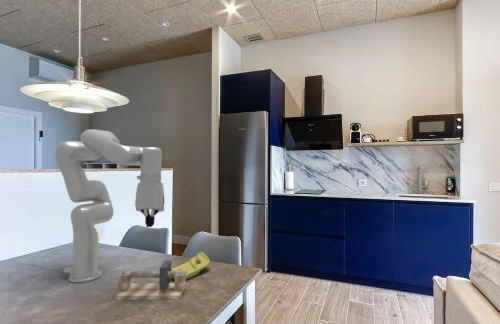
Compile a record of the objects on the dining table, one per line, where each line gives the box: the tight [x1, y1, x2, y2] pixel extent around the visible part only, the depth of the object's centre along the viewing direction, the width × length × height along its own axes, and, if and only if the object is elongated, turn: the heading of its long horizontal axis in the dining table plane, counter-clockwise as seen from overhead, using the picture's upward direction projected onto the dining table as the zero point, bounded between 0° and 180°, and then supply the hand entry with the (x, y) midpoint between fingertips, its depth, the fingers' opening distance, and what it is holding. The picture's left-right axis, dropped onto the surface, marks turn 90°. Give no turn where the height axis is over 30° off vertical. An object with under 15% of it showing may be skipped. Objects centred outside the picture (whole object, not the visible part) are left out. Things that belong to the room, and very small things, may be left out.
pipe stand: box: [115, 270, 186, 301], centre depth 111 cm, size 24×11×8 cm, turn 92°
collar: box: [158, 260, 172, 290], centre depth 111 cm, size 2×8×8 cm, turn 2°
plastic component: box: [171, 251, 210, 281], centre depth 131 cm, size 20×7×10 cm
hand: (149, 226), depth 112 cm, fingers closed
